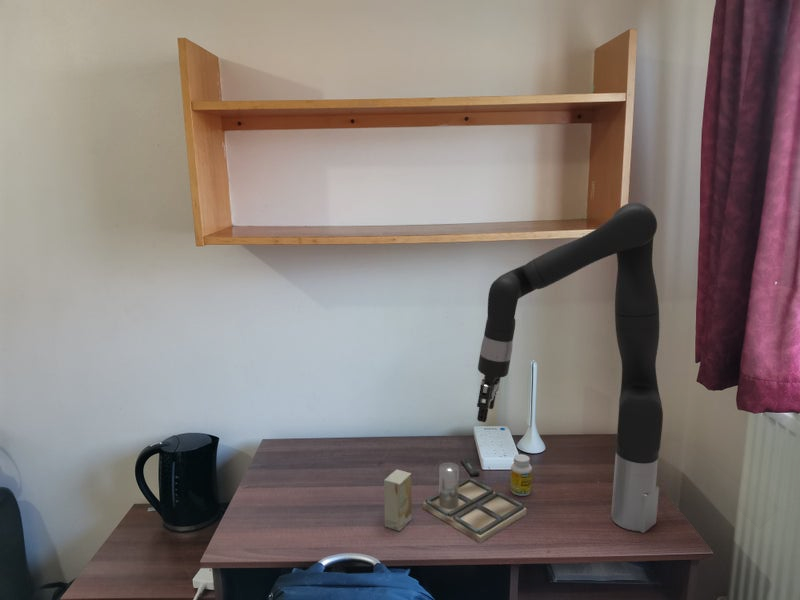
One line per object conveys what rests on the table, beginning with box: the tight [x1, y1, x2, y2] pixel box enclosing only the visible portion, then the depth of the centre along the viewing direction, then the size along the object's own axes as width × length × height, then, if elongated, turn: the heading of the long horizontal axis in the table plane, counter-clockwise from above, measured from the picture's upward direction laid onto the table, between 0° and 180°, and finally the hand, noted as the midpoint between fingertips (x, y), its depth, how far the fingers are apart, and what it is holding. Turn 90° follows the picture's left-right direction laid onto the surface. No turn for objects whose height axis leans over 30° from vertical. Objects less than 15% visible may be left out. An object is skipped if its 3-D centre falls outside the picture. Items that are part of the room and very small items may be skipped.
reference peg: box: [438, 462, 460, 509], centre depth 146 cm, size 5×5×10 cm
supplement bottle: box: [510, 453, 533, 497], centre depth 154 cm, size 5×5×10 cm
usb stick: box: [460, 457, 480, 478], centre depth 167 cm, size 10×3×2 cm, turn 13°
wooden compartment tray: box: [422, 477, 527, 544], centre depth 146 cm, size 19×17×2 cm
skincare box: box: [383, 468, 413, 532], centre depth 141 cm, size 6×4×12 cm
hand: (485, 414), depth 149 cm, fingers open, 8 cm apart
